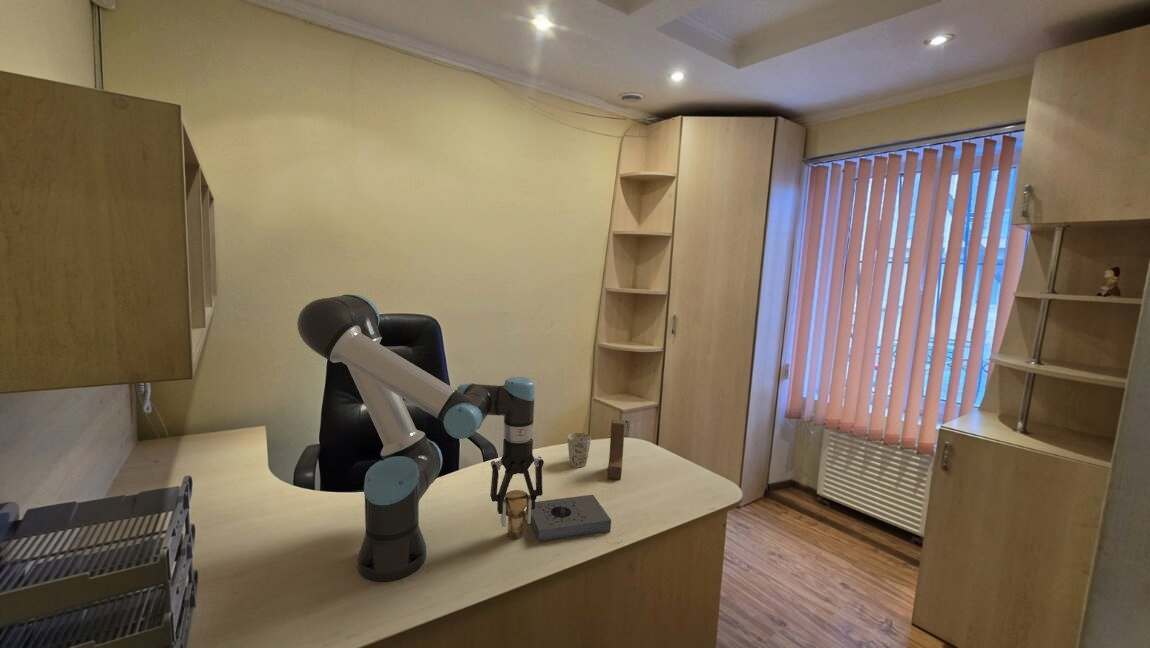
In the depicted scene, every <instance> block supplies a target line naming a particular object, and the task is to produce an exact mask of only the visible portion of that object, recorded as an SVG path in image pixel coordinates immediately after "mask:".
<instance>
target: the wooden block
mask: <svg viewBox="0 0 1150 648" xmlns="http://www.w3.org/2000/svg"><path fill="white" fill-rule="evenodd" d="M625 426H626V421H625V419H618V418H612V420H611V424H610V439H609V442H610V443H609V458H608V465H607V466H608V467H607V479H610V480H611V479H612V480H622V473H623V458H624V443H625V442H624V441H625V429H626V428H625Z"/></svg>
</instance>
